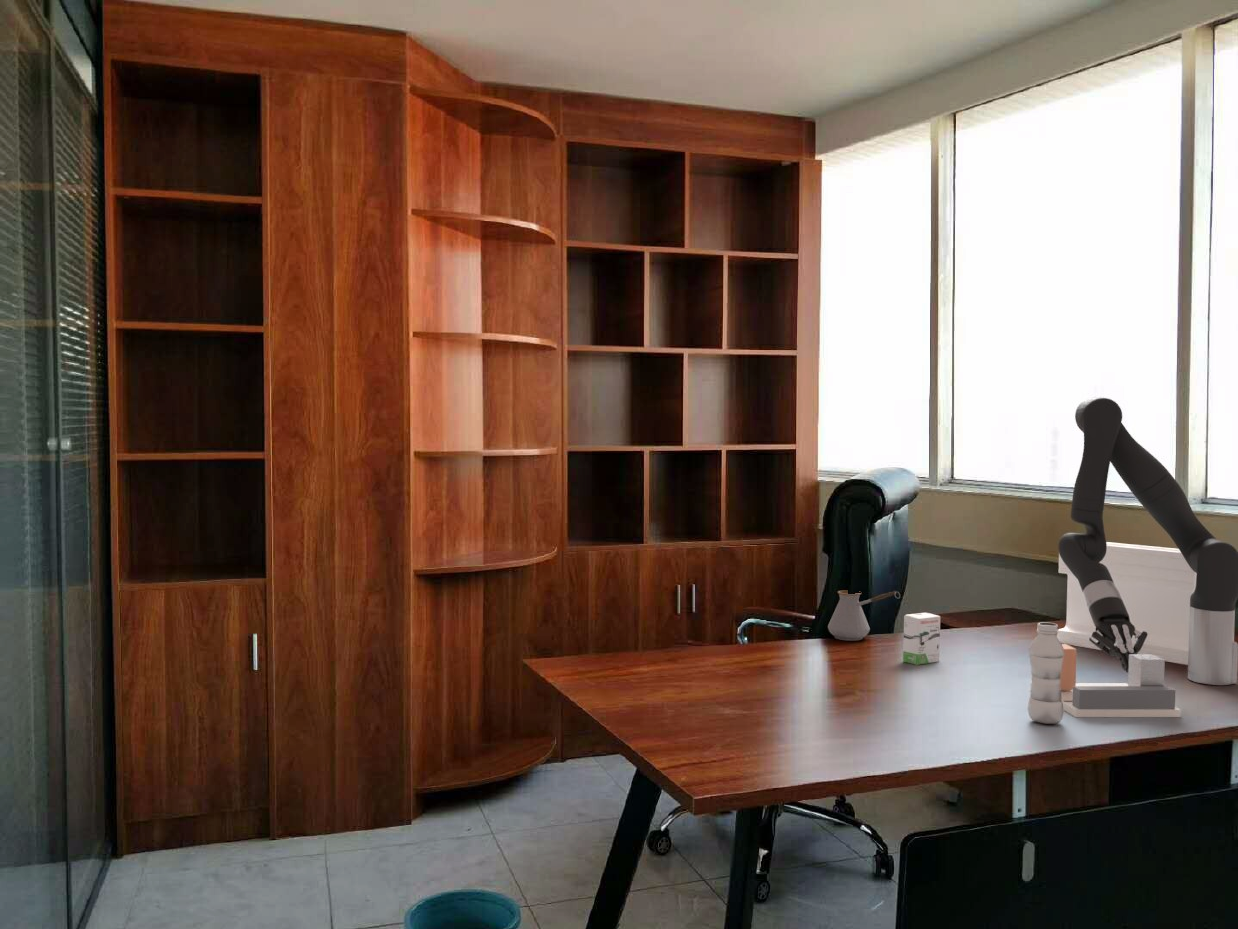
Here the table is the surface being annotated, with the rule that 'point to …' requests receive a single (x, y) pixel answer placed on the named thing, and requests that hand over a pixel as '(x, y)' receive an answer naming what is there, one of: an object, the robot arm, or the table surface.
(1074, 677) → the tall salmon pillar
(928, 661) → the ink box
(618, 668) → the table surface
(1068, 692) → the plate
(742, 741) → the table surface
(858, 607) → the coffee pot
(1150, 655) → the brushed metal pillar
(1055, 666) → the plastic bottle
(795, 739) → the table surface
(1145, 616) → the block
